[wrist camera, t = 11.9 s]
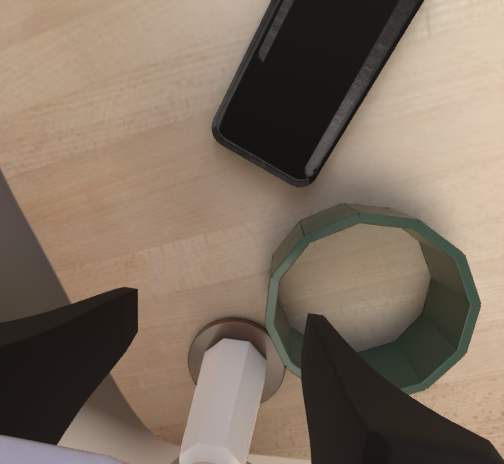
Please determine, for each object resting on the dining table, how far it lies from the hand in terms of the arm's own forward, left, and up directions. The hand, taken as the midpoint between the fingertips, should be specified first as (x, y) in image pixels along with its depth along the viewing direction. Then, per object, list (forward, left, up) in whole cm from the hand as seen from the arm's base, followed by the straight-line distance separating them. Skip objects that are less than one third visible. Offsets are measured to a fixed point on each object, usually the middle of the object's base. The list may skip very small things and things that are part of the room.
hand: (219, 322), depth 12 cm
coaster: (-10, 0, -10) cm, 14 cm away
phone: (+13, -3, -10) cm, 17 cm away
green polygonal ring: (-2, -8, -10) cm, 13 cm away
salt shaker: (-10, 0, -10) cm, 14 cm away
